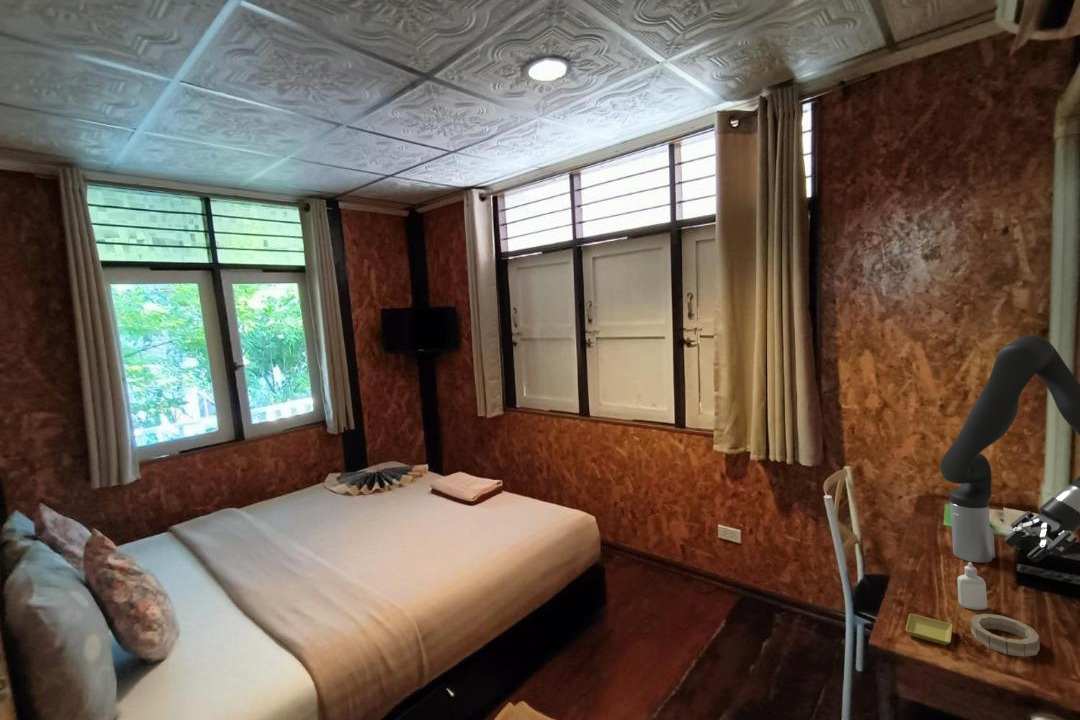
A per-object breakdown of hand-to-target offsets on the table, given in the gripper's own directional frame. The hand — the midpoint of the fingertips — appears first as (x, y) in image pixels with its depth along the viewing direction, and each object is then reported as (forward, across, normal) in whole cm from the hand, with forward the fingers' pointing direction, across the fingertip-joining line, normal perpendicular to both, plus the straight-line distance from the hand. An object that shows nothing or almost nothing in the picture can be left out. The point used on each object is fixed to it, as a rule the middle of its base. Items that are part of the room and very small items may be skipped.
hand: (1018, 551), depth 125 cm
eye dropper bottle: (+18, 0, +3) cm, 19 cm away
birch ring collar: (+19, +14, +2) cm, 24 cm away
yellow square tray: (+30, +13, -8) cm, 34 cm away
